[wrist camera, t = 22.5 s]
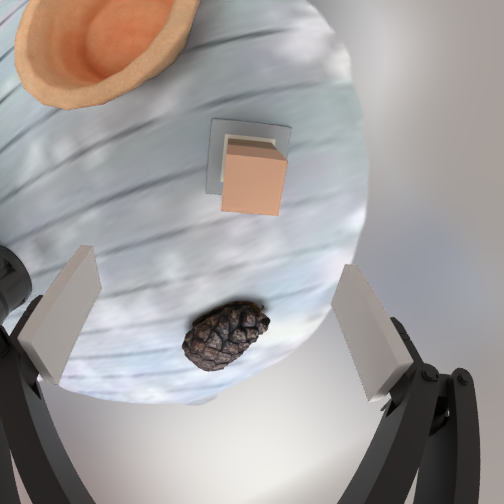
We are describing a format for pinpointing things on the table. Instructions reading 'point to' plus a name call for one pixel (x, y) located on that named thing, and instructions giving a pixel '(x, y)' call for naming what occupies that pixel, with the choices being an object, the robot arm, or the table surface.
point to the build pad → (243, 131)
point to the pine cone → (224, 334)
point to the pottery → (97, 47)
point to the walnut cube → (251, 143)
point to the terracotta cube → (253, 180)
